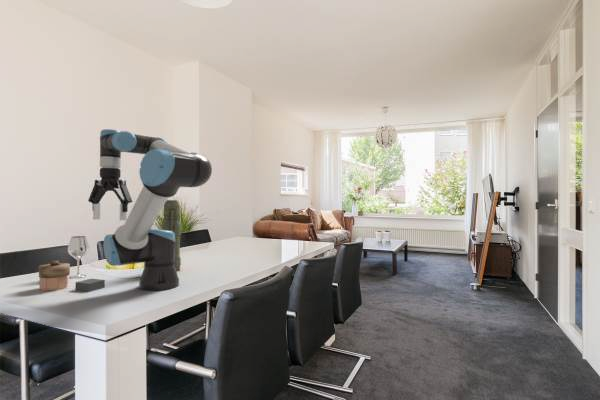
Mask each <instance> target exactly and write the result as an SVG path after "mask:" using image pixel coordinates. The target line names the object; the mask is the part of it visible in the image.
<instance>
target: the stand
mask: <svg viewBox="0 0 600 400" xmlns="http://www.w3.org/2000/svg"><path fill="white" fill-rule="evenodd" d="M105 282H106V279H98V278H87V279H84V280H80V281H75V285H74V286H75V291H79V290H80V292H87V293H88V292H93V290H94V291H97V290H100V289H104V288H105V286H106V285H105V284H106V283H105Z"/></svg>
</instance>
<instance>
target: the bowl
mask: <svg viewBox="0 0 600 400" xmlns="http://www.w3.org/2000/svg"><path fill="white" fill-rule="evenodd" d="M68 284H69V275H67V276H63V277H57V278H40V277H39V290H40V291H42V292H51V291H52V292H53V291H58V290H59V291H60V290H64V289H67V288H68ZM66 287H67V288H66Z"/></svg>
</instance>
